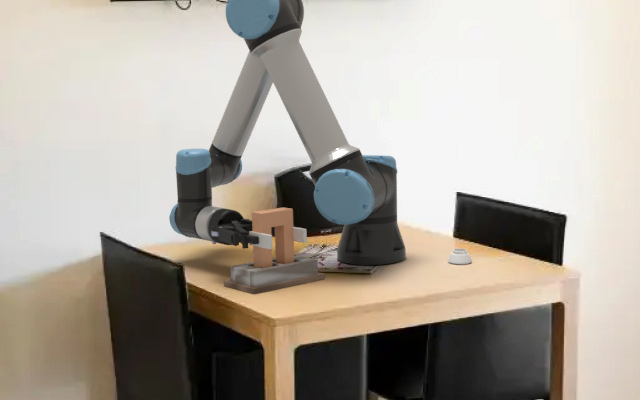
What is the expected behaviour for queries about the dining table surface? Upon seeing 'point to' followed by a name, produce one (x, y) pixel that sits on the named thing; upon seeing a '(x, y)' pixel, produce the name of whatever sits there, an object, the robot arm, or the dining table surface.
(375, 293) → the dining table surface
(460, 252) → the grey bowl
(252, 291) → the grey socket block
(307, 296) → the dining table surface
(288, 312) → the dining table surface
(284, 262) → the tan arch block
